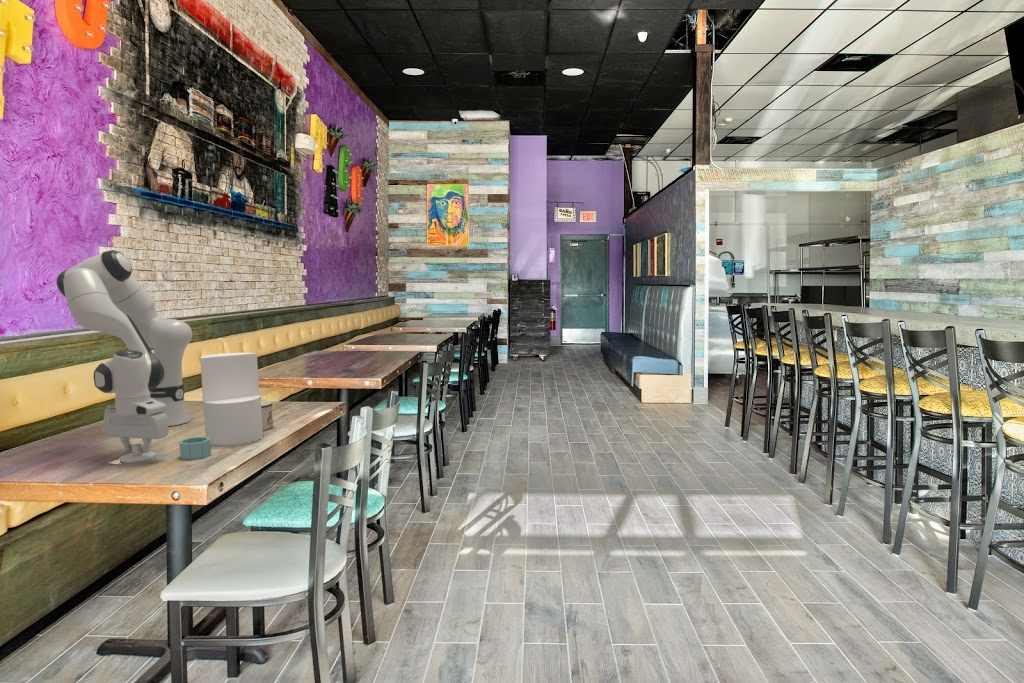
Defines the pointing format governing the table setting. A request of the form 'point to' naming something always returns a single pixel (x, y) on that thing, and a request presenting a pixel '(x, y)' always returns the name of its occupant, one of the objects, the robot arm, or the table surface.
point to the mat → (157, 456)
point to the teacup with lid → (266, 414)
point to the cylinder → (231, 398)
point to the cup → (195, 448)
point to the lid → (137, 455)
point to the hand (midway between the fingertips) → (137, 452)
